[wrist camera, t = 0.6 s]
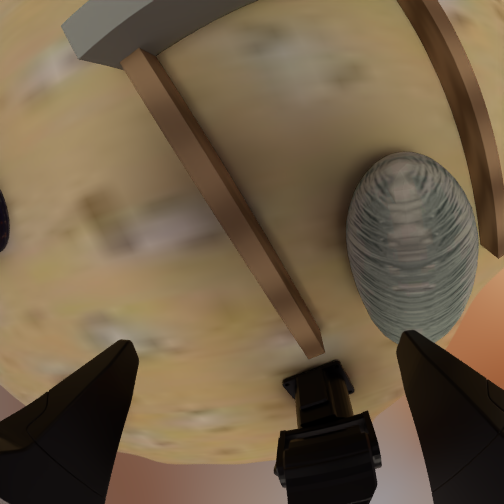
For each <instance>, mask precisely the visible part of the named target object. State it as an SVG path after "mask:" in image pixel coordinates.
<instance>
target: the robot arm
mask: <svg viewBox="0 0 504 504" xmlns="http://www.w3.org/2000/svg"><path fill="white" fill-rule="evenodd" d="M396 354H397V359H398V363H399V368H400V372H401V376H402V381H403V386H404V390H405V394H406V397H407V401H408V404H409V407H410V410H411V413H412V417H413V420H414V423H415V426H416V430H417V434H418V437H419V440H420V444H421V448H422V452H423V456H424V459H425V464H426V468H427V472H428V477H429V481H430V486H431V491H432V497H433V501H434V504H504V390H503V389H501V388H500V387H498V386H497V385H495V384H494V383H492V382H491V381H490V380H487V379H486V378H485V377H484V376H482V375H480V374H479V373H478V372H476V371H475V370H473V369H472V368H471V367H469V366H468V365H466V364H465V363H463V362H462V361H460V360H459V359H457V358H456V357H454V356H453V355H452V354H450V353H449V352H447V351H446V350H444V349H443V348H441V347H440V346H438V345H437V344H435V343H434V342H432V341H431V340H429V339H428V338H426V337H425V336H423V335H422V334H420V333H419V332H417V331H416V330H406V331H403V332H402V334H401V337H400V340H399V343H398V346H397V351H396ZM138 365H139V358H138V355H137V353H136V350H135V348H134V345H133V343H132V342H131V341H130V340H122V339H121V340H118V341H117V342H115V343H114V344H113V345H111V346H110V347H109V348H107V349H106V350H104V351H103V352H102V353H100V354H99V355H97V356H96V357H95V358H93V359H92V360H90V361H89V362H88V363H86V364H85V365H83V366H82V367H81V368H79V369H78V370H77V371H75V372H74V373H72V374H71V375H70V376H68V377H67V378H65V379H64V380H63V381H61V382H60V383H59V384H57V385H56V386H54V387H53V388H52V389H50V390H49V392H46V393H45V394H43V395H42V396H41V397H39V398H38V399H36V400H35V401H33V402H32V403H30V404H29V405H27V406H26V407H24V408H22V409H21V410H19V411H17V412H16V413H14V414H12V415H11V416H9V417H7V418H6V419H4V420H2V421H0V504H105V500H106V499H105V498H106V494H107V490H108V486H109V481H110V477H111V473H112V469H113V465H114V461H115V457H116V453H117V450H118V446H119V442H120V439H121V435H122V431H123V428H124V424H125V421H126V417H127V414H128V411H129V407H130V404H131V400H132V396H133V390H134V385H135V380H136V375H137V370H138ZM282 385H283V387H284V388H285V389H286V390H287V391H288V393H289V394H290V395H291V396H292V397H293V398H294V399H295V403H296V414H297V426H298V429H294V430H289V431H286V430H284V431H280V438H279V439H278V449H277V458H276V464H275V467H274V474H275V475H276V476H278V477H279V480H280V483H281V485H282V487H284V488H286V490H287V497H288V504H369V503H370V501H371V499H372V496H373V494H374V492H375V490H376V487H377V479H376V472H375V469H376V468H380V467H381V466H382V464H381V455H380V450H379V445H378V441H377V437H376V434H375V431H374V428H373V425H372V422H371V419H370V415H369V412H368V411H365V412H363V413H361V414H357V415H353V410H352V406H351V402H350V398H349V394H352V393H353V392H354V387H353V385H352V383H351V381H350V380H349V378H348V376H347V374H346V372H345V370H344V368H343V366H342V365H341V363H340V361H333V362H331V363H328V364H326V365H323V366H321V367H318V368H316V369H313V370H310V371H308V372H305V373H302V374H299V375H296V376H294V377H291V378H288V379H285V380H283V382H282Z"/></svg>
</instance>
